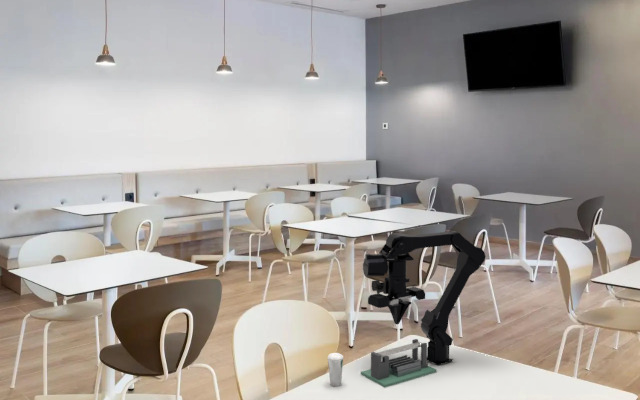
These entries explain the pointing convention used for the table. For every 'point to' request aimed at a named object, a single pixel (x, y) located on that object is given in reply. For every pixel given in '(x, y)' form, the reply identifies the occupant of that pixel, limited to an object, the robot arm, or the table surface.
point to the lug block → (379, 366)
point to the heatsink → (403, 366)
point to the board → (396, 380)
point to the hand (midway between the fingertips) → (396, 324)
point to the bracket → (423, 354)
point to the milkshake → (335, 368)
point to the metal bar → (399, 349)
